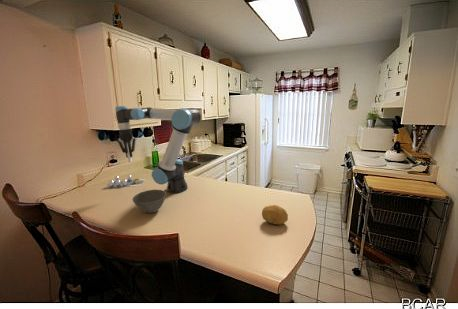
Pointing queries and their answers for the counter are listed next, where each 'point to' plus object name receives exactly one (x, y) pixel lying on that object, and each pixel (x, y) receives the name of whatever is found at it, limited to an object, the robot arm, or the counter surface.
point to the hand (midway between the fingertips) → (130, 161)
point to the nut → (136, 181)
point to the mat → (127, 184)
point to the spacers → (119, 181)
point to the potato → (274, 214)
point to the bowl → (149, 200)
